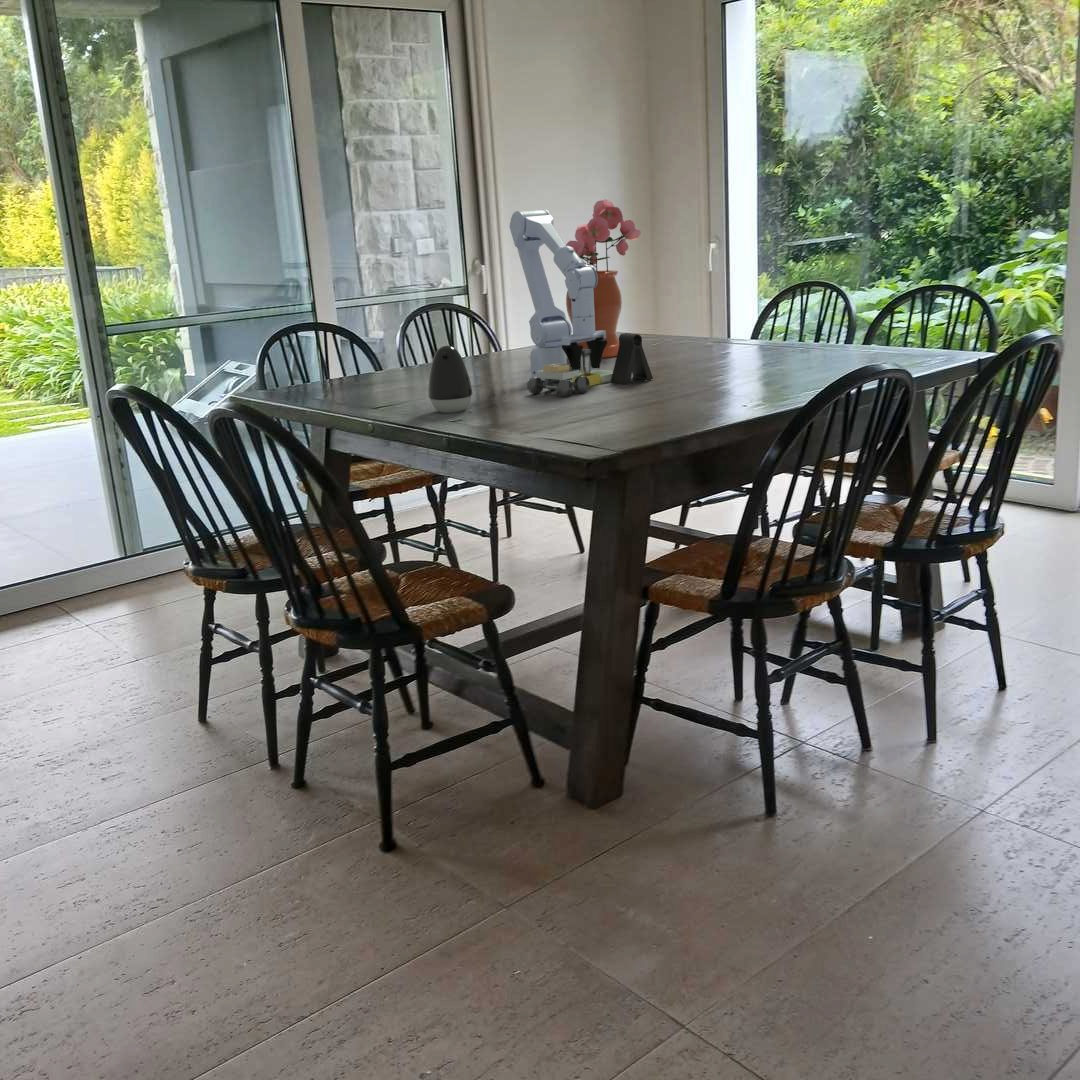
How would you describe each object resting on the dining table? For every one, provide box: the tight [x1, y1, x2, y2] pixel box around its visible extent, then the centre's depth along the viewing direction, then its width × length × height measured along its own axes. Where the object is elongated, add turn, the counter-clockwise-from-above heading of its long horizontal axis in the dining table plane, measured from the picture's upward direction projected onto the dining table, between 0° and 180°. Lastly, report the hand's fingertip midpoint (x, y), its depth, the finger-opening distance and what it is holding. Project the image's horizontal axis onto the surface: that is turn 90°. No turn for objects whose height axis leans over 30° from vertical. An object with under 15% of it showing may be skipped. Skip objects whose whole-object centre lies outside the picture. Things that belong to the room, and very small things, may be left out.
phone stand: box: [610, 332, 654, 385], centre depth 285 cm, size 9×6×12 cm, turn 121°
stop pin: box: [580, 349, 592, 376], centre depth 284 cm, size 3×3×9 cm
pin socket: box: [572, 373, 602, 387], centre depth 285 cm, size 5×5×2 cm
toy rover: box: [527, 363, 590, 398], centre depth 274 cm, size 12×10×7 cm
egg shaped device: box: [427, 345, 473, 414], centre depth 258 cm, size 10×10×15 cm
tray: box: [591, 369, 613, 384], centre depth 290 cm, size 8×7×2 cm
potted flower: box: [565, 199, 641, 359], centre depth 331 cm, size 19×25×45 cm
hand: (586, 370), depth 284 cm, fingers open, 7 cm apart
